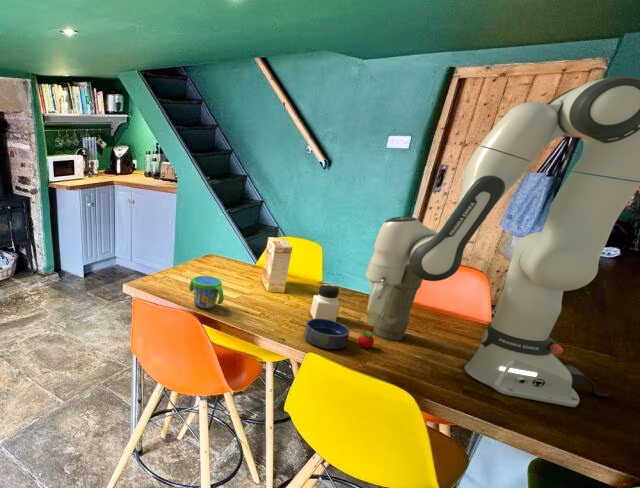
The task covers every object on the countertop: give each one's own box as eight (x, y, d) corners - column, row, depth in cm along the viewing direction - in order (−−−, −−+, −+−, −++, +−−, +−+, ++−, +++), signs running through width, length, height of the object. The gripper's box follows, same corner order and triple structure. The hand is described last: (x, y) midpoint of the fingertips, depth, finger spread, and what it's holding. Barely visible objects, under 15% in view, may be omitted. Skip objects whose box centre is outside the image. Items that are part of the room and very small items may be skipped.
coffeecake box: (260, 279, 179) (267, 236, 172) (277, 280, 178) (284, 237, 171) (266, 291, 166) (274, 245, 158) (284, 293, 165) (293, 246, 157)
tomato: (372, 346, 124) (375, 333, 123) (371, 351, 121) (375, 339, 119) (357, 342, 126) (360, 330, 125) (356, 347, 123) (359, 335, 121)
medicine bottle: (335, 323, 139) (343, 290, 134) (314, 320, 140) (321, 289, 136) (330, 314, 146) (338, 283, 141) (309, 312, 147) (316, 281, 142)
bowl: (347, 338, 128) (351, 324, 126) (343, 354, 119) (347, 340, 117) (307, 329, 134) (310, 315, 132) (300, 343, 125) (303, 329, 123)
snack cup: (229, 310, 147) (232, 284, 143) (206, 316, 142) (209, 289, 138) (202, 296, 159) (205, 272, 155) (180, 300, 155) (182, 275, 151)
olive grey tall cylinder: (366, 335, 131) (397, 229, 117) (377, 324, 139) (407, 223, 125) (397, 345, 125) (434, 234, 111) (407, 333, 133) (442, 228, 119)
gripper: (397, 286, 105) (381, 333, 110) (397, 267, 121) (383, 308, 126) (370, 281, 108) (356, 327, 113) (373, 262, 124) (361, 303, 129)
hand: (370, 317), depth 120 cm, fingers open, 8 cm apart
